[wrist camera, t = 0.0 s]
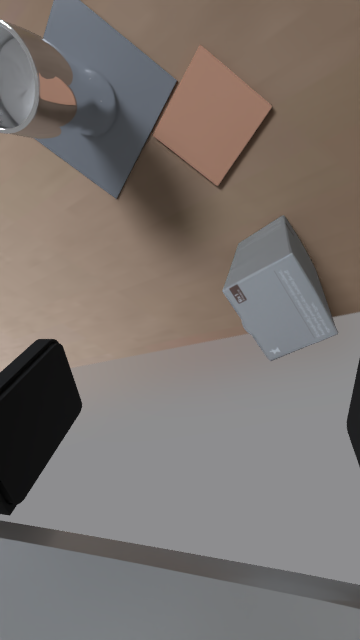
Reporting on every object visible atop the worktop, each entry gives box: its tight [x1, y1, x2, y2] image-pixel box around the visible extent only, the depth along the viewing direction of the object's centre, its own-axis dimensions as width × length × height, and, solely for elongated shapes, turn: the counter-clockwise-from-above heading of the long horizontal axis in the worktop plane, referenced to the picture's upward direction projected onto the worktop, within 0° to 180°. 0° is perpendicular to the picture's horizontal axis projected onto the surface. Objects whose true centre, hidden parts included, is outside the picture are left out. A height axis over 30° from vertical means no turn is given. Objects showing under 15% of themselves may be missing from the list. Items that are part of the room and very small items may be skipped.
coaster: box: [153, 45, 272, 186], centre depth 32 cm, size 9×9×1 cm
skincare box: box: [223, 216, 338, 361], centre depth 31 cm, size 8×7×16 cm
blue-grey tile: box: [34, 0, 177, 199], centre depth 34 cm, size 14×14×1 cm
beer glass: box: [0, 19, 117, 139], centre depth 28 cm, size 7×7×15 cm
